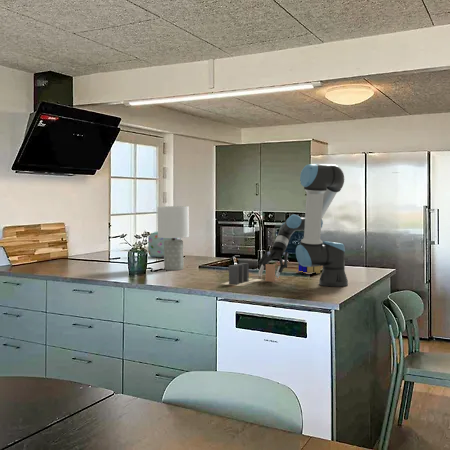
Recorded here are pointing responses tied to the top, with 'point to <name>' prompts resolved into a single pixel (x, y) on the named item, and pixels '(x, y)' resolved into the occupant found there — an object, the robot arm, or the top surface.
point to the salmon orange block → (270, 272)
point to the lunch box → (156, 245)
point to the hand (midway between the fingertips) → (267, 275)
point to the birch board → (244, 282)
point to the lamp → (173, 233)
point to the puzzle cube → (310, 269)
